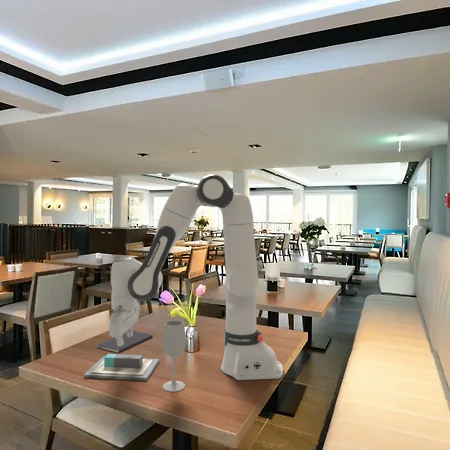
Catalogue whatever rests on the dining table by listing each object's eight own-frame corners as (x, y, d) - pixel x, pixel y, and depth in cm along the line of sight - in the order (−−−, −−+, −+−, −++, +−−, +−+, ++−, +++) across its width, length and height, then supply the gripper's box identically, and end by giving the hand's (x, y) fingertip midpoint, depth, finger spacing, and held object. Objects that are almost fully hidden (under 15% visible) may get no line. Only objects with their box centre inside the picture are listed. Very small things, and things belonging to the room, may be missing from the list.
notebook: (118, 354, 148) (152, 338, 167) (118, 350, 148) (152, 335, 166) (96, 348, 154) (131, 333, 172) (96, 344, 154) (131, 330, 172)
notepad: (159, 361, 139) (159, 358, 139) (146, 380, 124) (146, 376, 124) (103, 359, 141) (103, 355, 141) (83, 377, 125) (83, 373, 125)
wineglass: (157, 386, 120) (157, 322, 119) (176, 379, 125) (176, 318, 124) (171, 394, 114) (171, 327, 114) (190, 386, 120) (190, 323, 119)
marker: (142, 364, 134) (142, 355, 133) (139, 368, 130) (139, 358, 130) (108, 362, 135) (108, 353, 135) (104, 366, 131) (104, 357, 131)
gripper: (122, 310, 121) (123, 351, 122) (141, 296, 141) (142, 331, 142) (103, 310, 122) (104, 351, 122) (125, 296, 142) (126, 331, 142)
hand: (125, 340), depth 132 cm, fingers open, 8 cm apart
